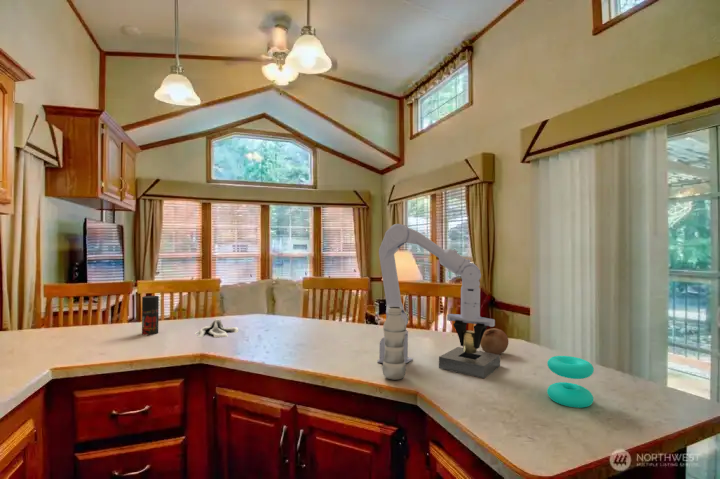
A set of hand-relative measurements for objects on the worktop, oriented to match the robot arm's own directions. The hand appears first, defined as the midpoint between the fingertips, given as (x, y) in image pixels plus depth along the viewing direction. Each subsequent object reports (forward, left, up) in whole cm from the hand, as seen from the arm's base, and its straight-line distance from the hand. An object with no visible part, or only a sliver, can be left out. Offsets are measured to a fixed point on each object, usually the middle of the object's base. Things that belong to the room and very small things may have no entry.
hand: (470, 346), depth 120 cm
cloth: (-25, +100, -7) cm, 103 cm away
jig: (0, 0, -6) cm, 6 cm away
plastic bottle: (-23, +13, -6) cm, 27 cm away
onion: (+19, -1, -6) cm, 20 cm away
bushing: (0, 0, -1) cm, 1 cm away
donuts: (-9, -29, -7) cm, 31 cm away
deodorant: (-42, +119, -6) cm, 126 cm away
